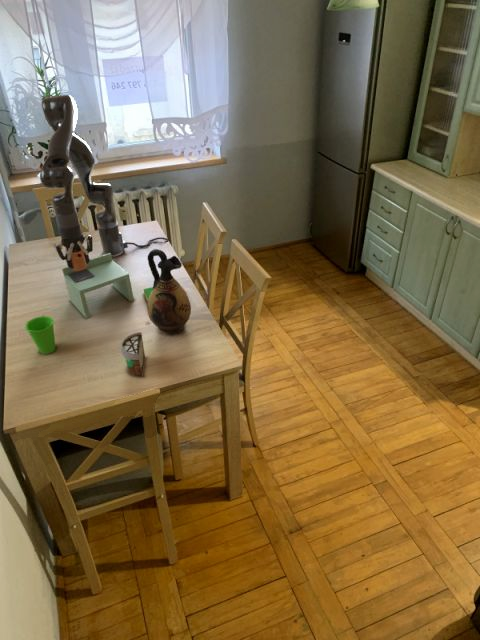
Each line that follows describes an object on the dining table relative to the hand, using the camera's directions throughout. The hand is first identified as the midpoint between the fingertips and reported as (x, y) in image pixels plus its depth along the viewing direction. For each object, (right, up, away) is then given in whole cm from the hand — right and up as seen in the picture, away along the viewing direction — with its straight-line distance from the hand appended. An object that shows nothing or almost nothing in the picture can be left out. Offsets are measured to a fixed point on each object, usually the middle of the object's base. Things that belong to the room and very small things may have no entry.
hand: (79, 265), depth 175 cm
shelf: (+5, -13, +11) cm, 18 cm away
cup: (-6, -31, -14) cm, 35 cm away
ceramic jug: (+35, -23, -5) cm, 42 cm away
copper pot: (0, -1, +1) cm, 1 cm away
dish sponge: (+27, -13, +10) cm, 32 cm away
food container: (+26, -36, -24) cm, 51 cm away
